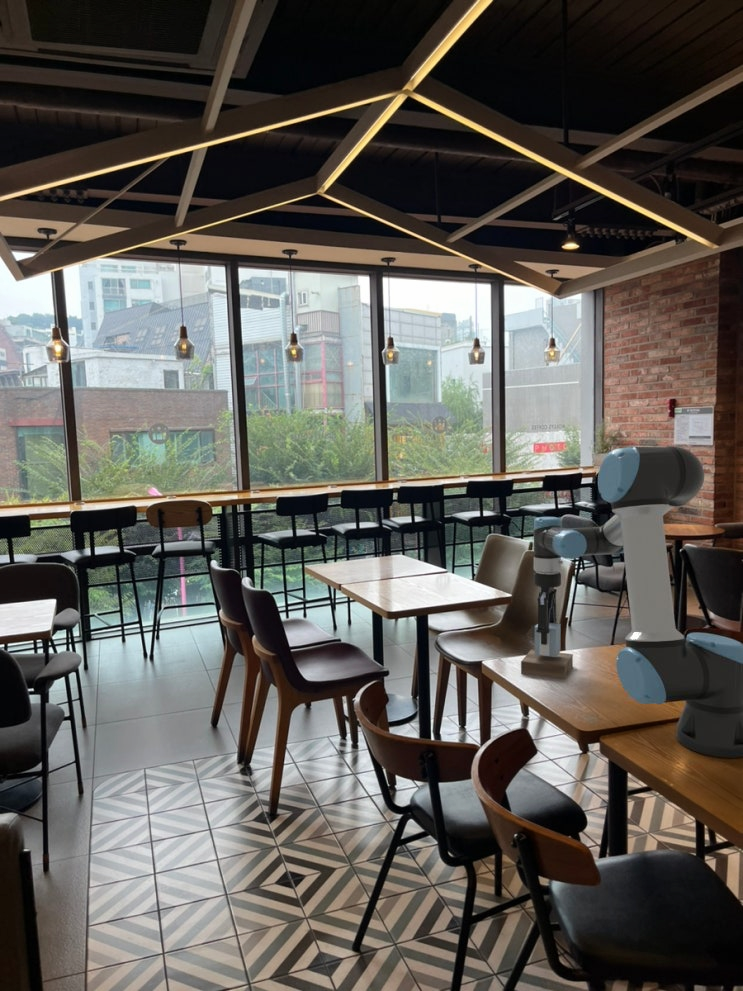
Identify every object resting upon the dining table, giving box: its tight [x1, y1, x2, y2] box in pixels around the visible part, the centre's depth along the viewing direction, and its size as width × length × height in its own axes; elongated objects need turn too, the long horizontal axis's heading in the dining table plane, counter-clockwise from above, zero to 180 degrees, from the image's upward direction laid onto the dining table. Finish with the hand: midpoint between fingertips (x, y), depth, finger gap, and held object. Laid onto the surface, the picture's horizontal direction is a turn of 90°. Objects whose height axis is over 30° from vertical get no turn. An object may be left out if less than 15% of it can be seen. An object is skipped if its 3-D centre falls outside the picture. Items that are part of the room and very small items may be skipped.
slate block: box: [534, 622, 561, 657], centre depth 197 cm, size 6×6×8 cm
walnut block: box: [520, 649, 574, 681], centre depth 198 cm, size 12×12×4 cm
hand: (547, 651), depth 197 cm, fingers closed on slate block, 6 cm apart
